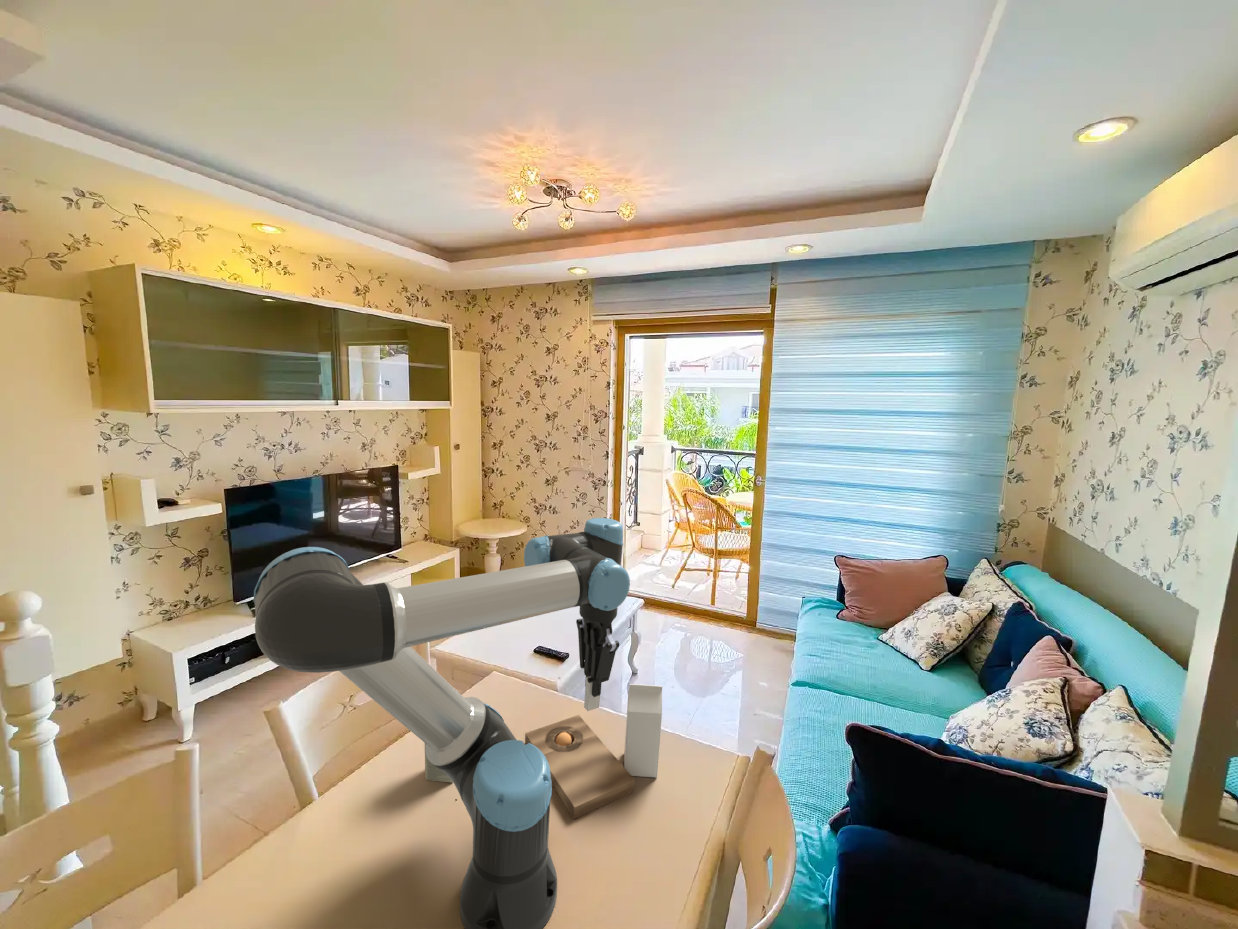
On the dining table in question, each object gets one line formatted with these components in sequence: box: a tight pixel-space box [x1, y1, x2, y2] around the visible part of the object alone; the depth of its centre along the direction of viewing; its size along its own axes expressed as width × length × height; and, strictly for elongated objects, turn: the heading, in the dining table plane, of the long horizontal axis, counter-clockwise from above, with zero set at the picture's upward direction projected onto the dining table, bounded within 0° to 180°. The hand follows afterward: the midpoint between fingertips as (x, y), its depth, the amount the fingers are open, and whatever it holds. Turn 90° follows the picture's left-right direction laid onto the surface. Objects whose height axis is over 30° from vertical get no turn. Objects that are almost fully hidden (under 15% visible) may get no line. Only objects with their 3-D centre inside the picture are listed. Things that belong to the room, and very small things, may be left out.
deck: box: [524, 714, 636, 820], centre depth 109 cm, size 24×14×2 cm, turn 33°
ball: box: [556, 732, 572, 746], centre depth 114 cm, size 4×4×4 cm
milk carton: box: [623, 683, 663, 778], centre depth 109 cm, size 7×7×19 cm
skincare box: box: [424, 743, 454, 784], centre depth 104 cm, size 6×4×12 cm
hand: (591, 707), depth 102 cm, fingers closed
